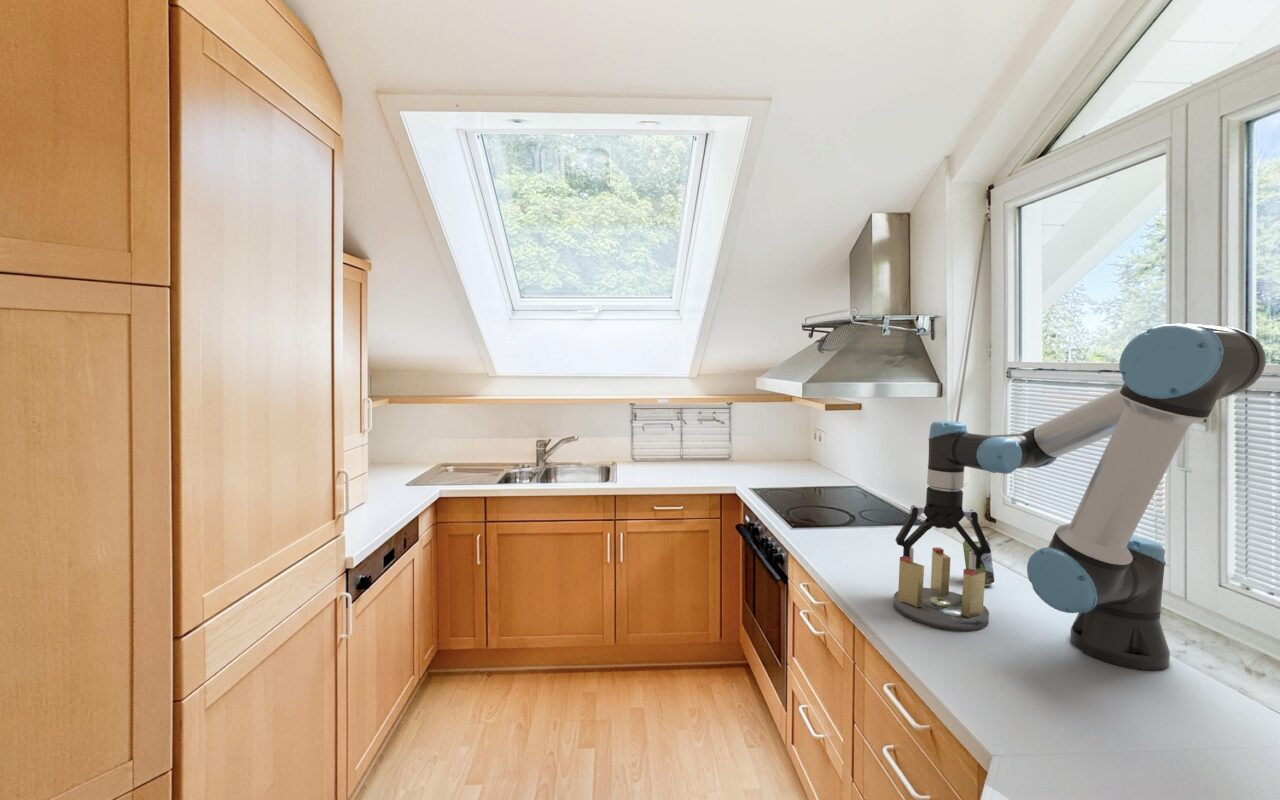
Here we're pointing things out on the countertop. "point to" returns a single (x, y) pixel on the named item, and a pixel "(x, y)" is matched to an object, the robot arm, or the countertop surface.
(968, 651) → the countertop surface
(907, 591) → the knob
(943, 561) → the knob
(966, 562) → the beverage can
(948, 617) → the tribrach plate
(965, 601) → the knob
